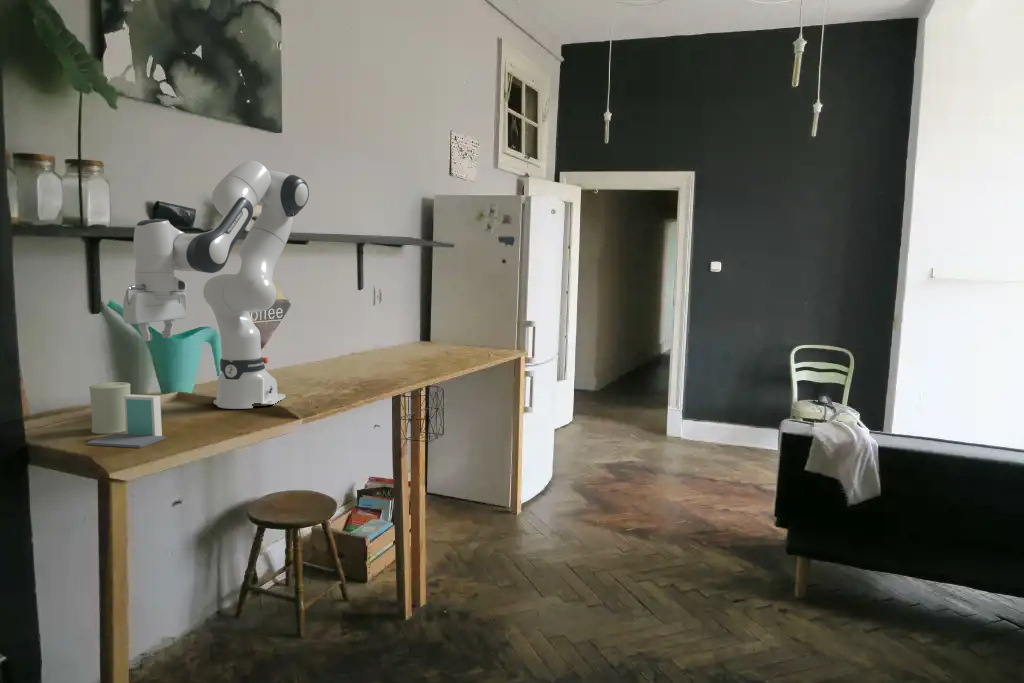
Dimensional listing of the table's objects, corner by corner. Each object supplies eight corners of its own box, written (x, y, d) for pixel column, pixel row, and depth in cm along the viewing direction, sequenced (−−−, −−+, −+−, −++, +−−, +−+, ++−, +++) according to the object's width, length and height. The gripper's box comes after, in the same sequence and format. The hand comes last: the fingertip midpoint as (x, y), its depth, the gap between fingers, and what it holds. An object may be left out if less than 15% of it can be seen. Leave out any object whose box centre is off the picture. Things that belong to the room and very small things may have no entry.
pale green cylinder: (138, 429, 185) (136, 383, 183) (99, 435, 178) (96, 387, 177) (124, 424, 191) (122, 379, 189) (86, 429, 184) (83, 383, 183)
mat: (114, 435, 178) (114, 433, 178) (165, 438, 176) (165, 436, 176) (86, 444, 169) (86, 442, 169) (140, 447, 167) (140, 445, 167)
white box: (133, 433, 180) (131, 394, 179) (161, 435, 179) (160, 395, 178) (125, 436, 178) (123, 396, 176) (154, 438, 176) (152, 397, 175)
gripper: (138, 285, 170) (140, 344, 171) (191, 283, 190) (192, 335, 191) (114, 285, 171) (117, 343, 172) (169, 283, 191) (171, 335, 192)
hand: (157, 339), depth 182 cm, fingers open, 6 cm apart
